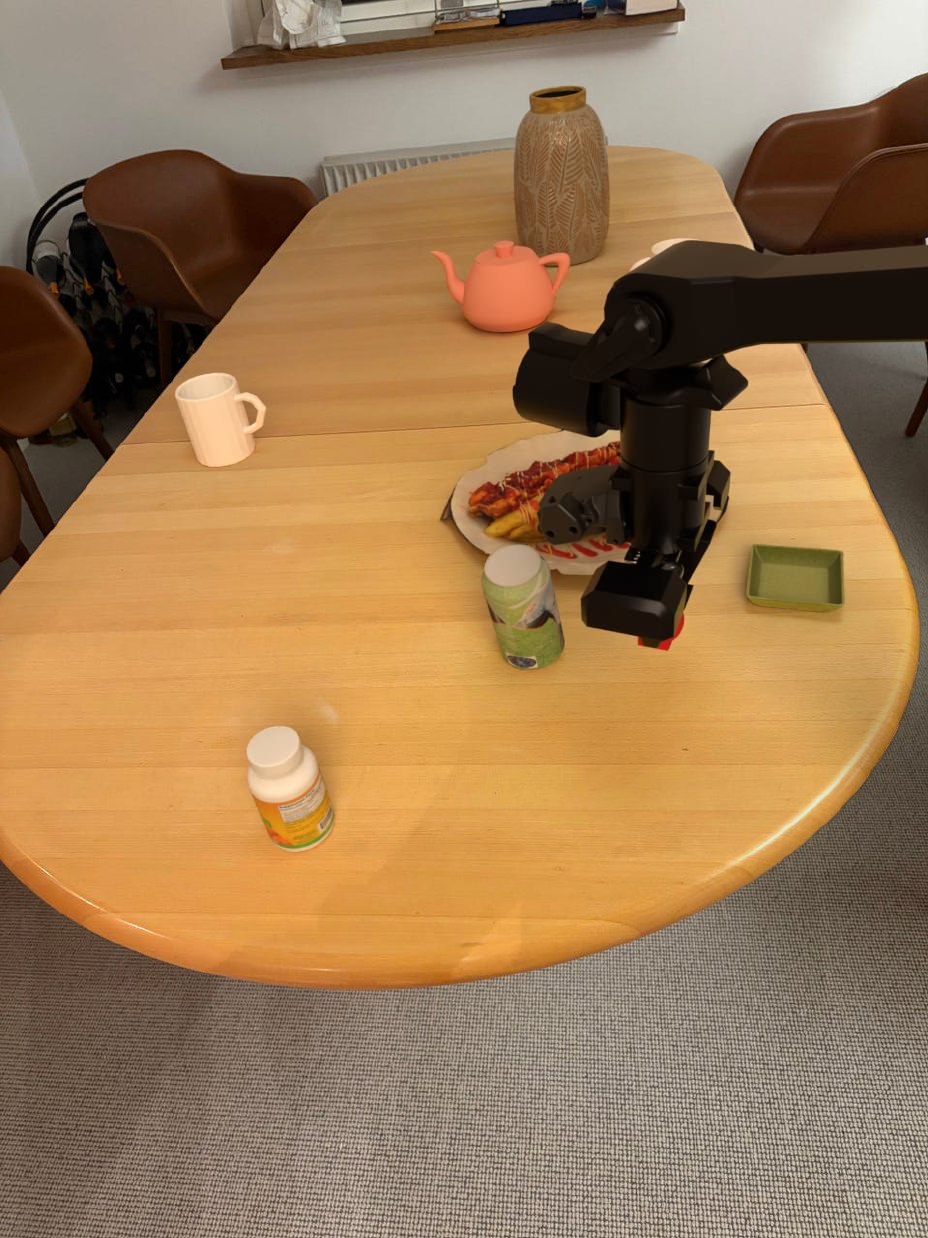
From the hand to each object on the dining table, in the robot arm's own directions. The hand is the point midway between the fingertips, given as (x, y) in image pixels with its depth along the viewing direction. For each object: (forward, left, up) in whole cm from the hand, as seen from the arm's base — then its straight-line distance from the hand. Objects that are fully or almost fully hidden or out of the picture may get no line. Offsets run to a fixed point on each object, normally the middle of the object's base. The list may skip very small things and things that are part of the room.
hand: (658, 628), depth 68 cm
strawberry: (0, 0, -1) cm, 1 cm away
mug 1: (+66, -30, -11) cm, 74 cm away
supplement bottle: (+23, +20, -11) cm, 32 cm away
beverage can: (+13, -4, -11) cm, 18 cm away
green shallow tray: (-8, -21, -11) cm, 25 cm away
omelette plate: (+18, -31, -11) cm, 38 cm away
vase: (+48, -110, -11) cm, 121 cm away
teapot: (+47, -79, -11) cm, 93 cm away
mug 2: (+22, -85, -11) cm, 89 cm away
